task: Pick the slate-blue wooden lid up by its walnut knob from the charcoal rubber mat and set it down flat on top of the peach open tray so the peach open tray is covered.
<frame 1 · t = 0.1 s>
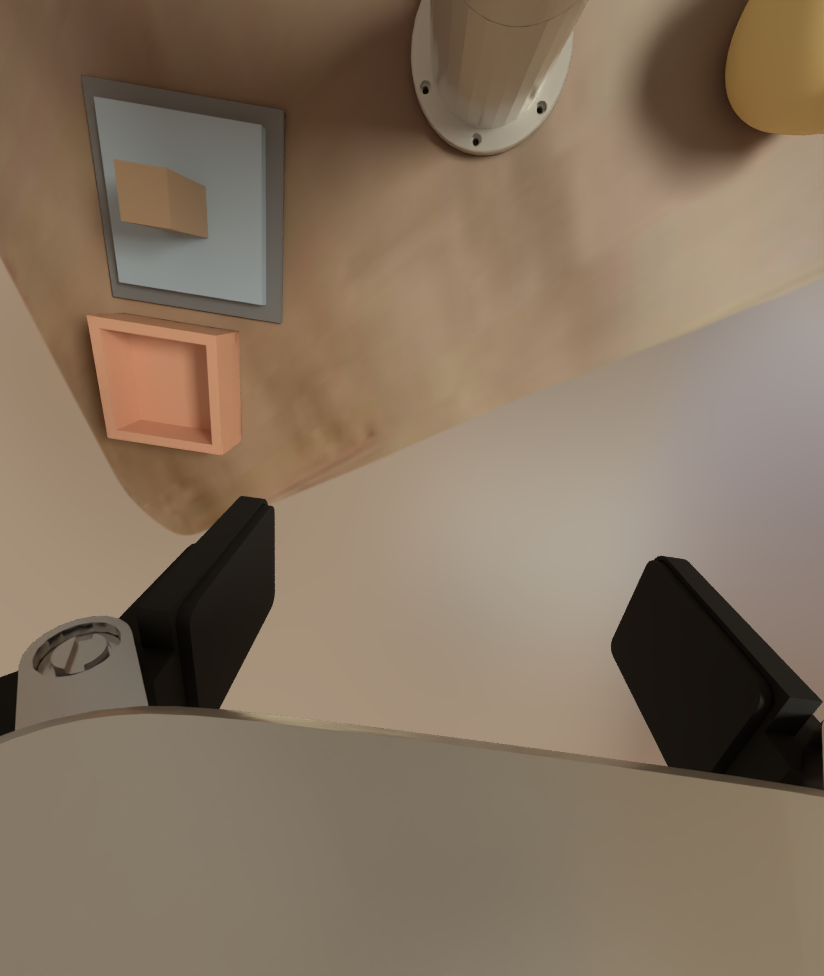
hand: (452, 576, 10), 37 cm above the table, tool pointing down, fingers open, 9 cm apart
mat: (193, 212, 39), on the table
sculpture: (782, 61, 33), on the table
lid: (190, 211, 39), resting on mat
peach open tray: (185, 380, 46), on the table
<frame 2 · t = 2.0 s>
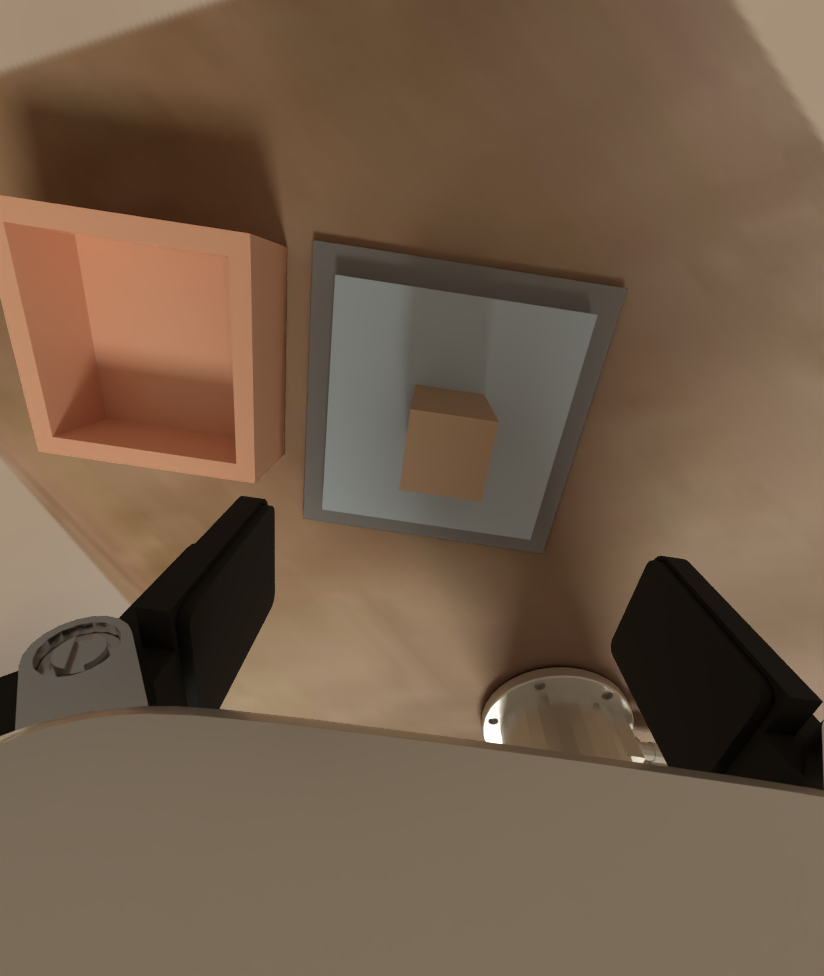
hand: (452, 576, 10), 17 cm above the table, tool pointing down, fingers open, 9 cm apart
mat: (443, 417, 26), on the table
lid: (444, 418, 26), resting on mat
peach open tray: (186, 345, 25), on the table
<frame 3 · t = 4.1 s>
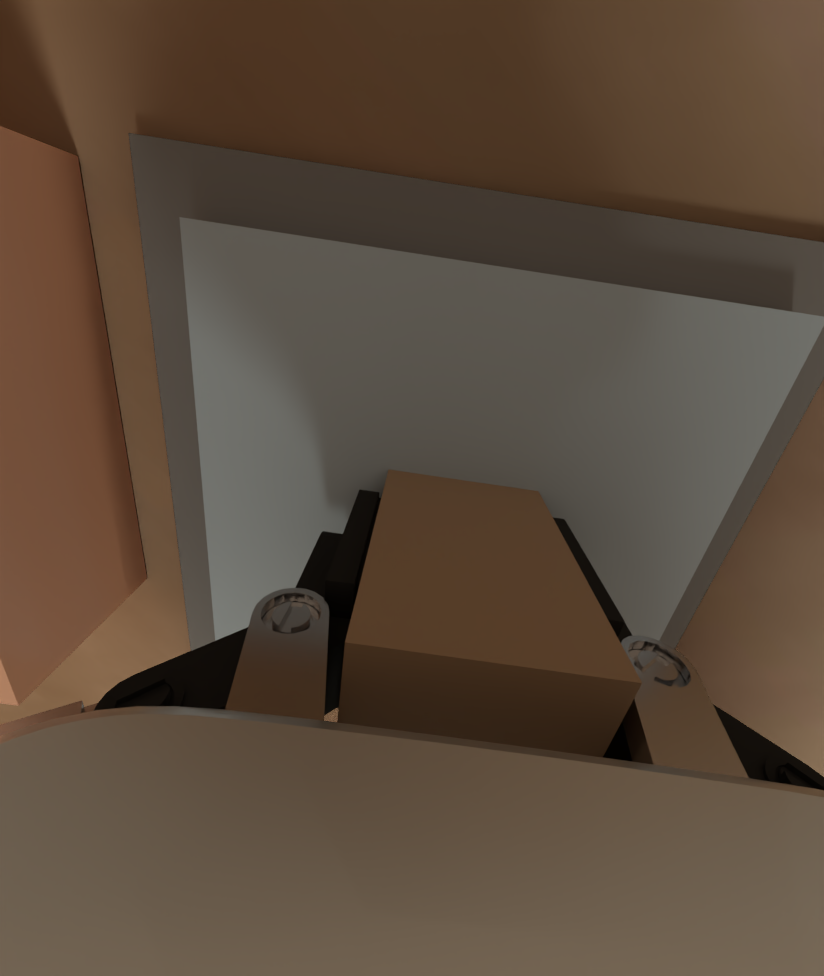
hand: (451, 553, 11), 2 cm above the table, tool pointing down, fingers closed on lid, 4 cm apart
mat: (448, 519, 13), on the table
lid: (449, 526, 13), resting on mat, touching gripper
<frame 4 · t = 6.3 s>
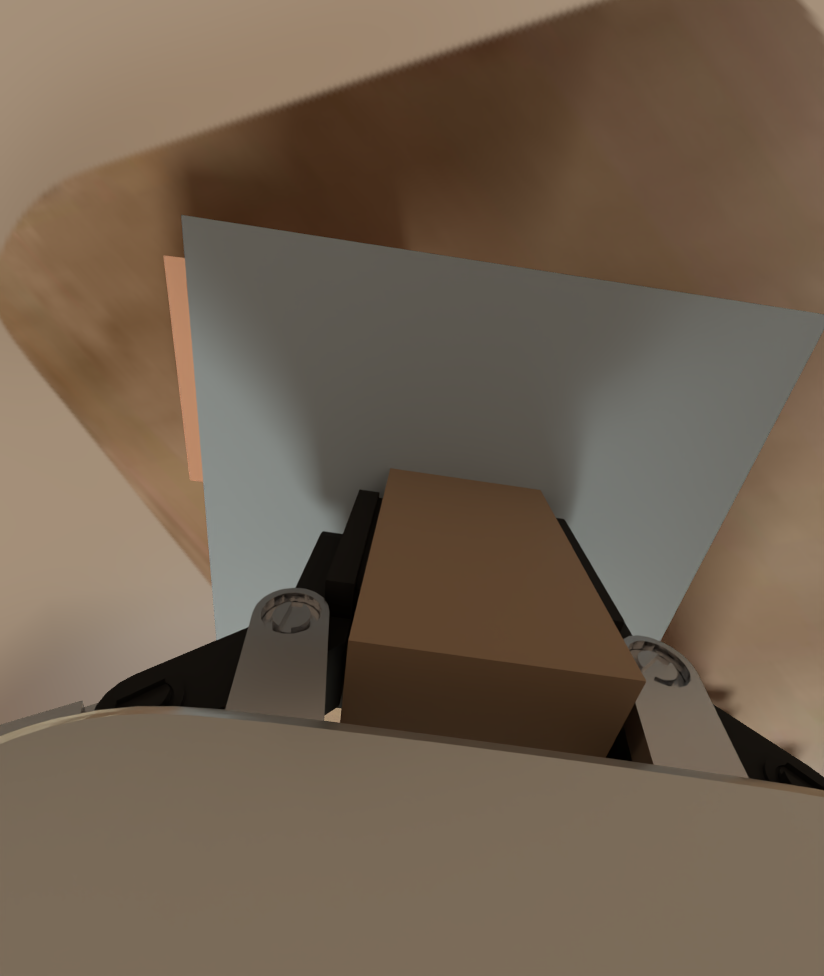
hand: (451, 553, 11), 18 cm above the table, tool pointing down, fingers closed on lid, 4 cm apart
lid: (450, 525, 13), point 16 cm above the table, touching gripper
peach open tray: (312, 378, 27), on the table
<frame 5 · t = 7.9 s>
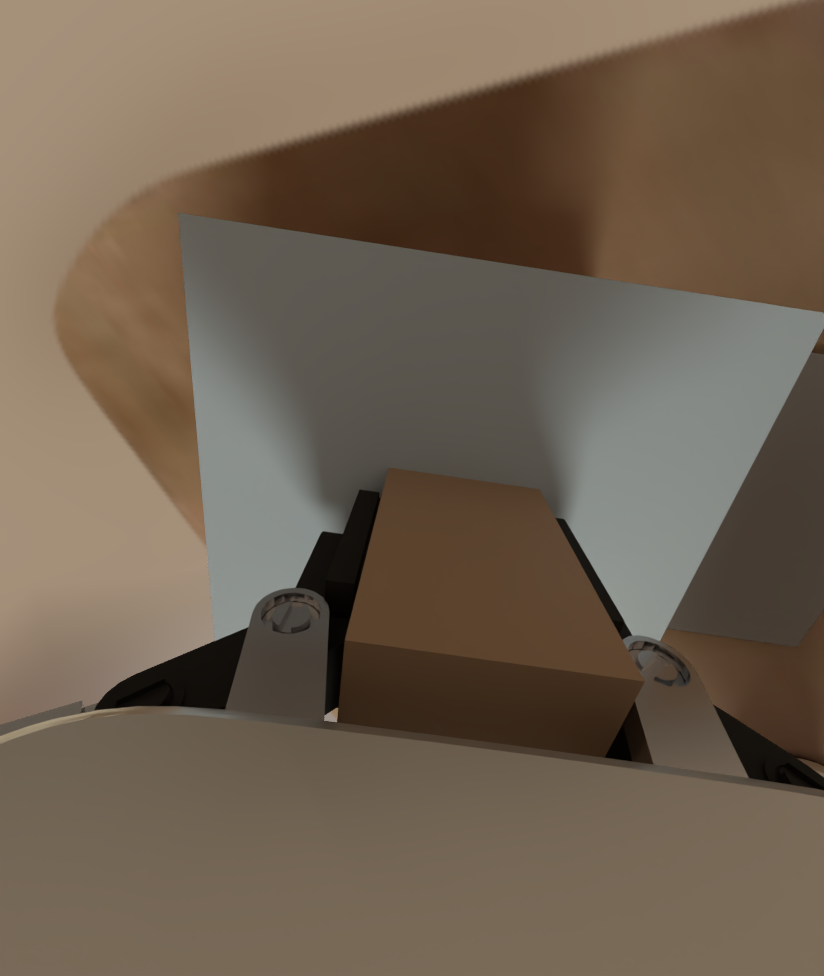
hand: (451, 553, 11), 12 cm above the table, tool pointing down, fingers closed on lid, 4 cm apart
mat: (722, 508, 23), on the table
lid: (449, 524, 13), point 10 cm above the table, touching gripper
when the fingers open (8 cm above the table, at t = 8.9 s): lid drops 2 cm, resting on peach open tray.
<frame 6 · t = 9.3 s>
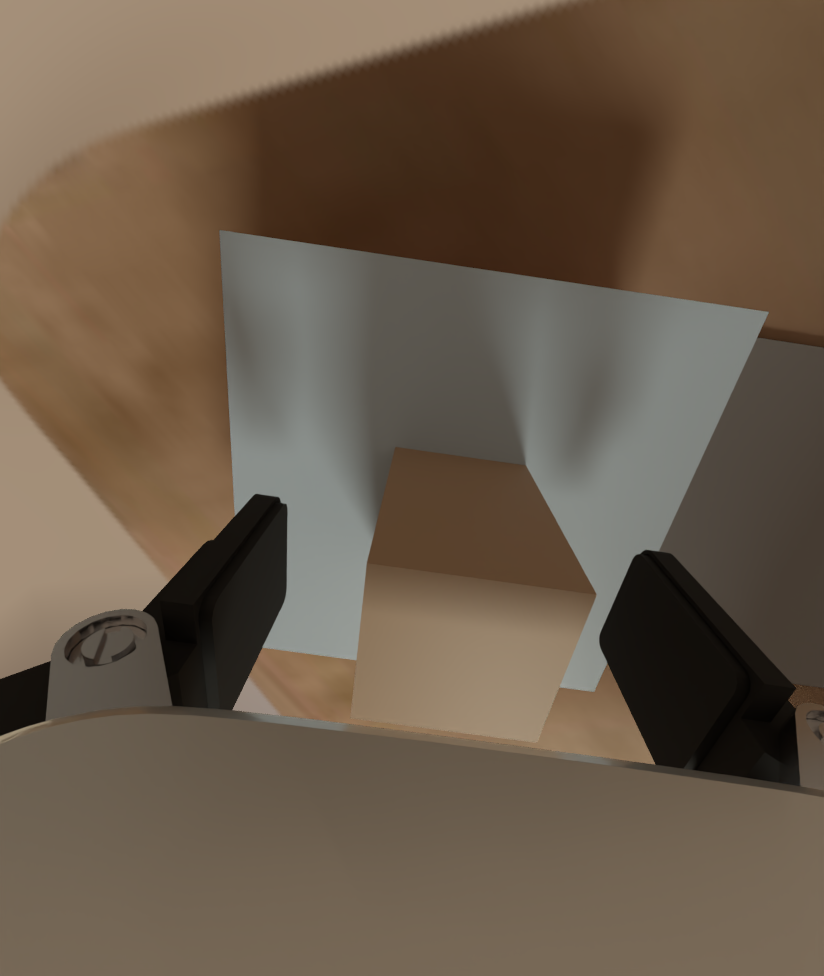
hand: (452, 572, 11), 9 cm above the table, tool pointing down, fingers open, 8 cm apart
mat: (765, 537, 20), on the table
lid: (448, 499, 14), point 5 cm above the table, touching peach open tray
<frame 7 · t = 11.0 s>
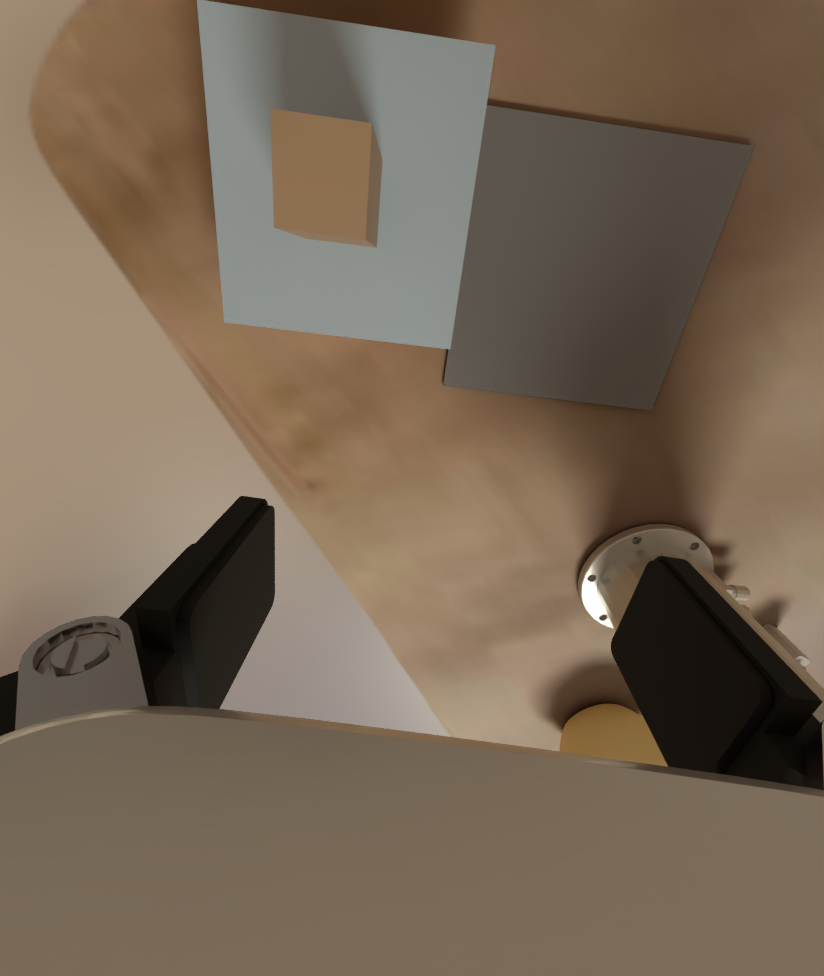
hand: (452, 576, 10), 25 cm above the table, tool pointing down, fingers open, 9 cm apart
mat: (578, 279, 30), on the table
sculpture: (596, 721, 52), on the table
lid: (345, 203, 24), point 5 cm above the table, touching peach open tray
lighter: (744, 644, 46), on the table
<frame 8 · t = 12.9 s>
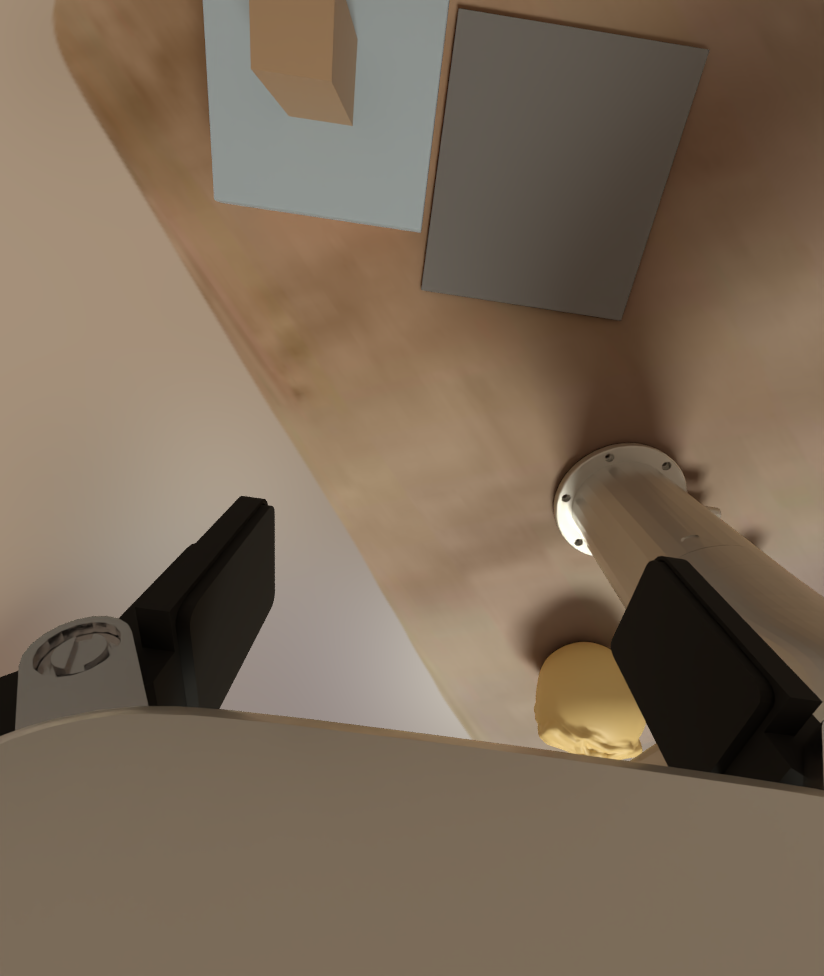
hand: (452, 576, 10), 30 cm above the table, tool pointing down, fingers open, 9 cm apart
mat: (548, 184, 32), on the table
sculpture: (575, 664, 52), on the table
lid: (325, 86, 26), point 5 cm above the table, touching peach open tray
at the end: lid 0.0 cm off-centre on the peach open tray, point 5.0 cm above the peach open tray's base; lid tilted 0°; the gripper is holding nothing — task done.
